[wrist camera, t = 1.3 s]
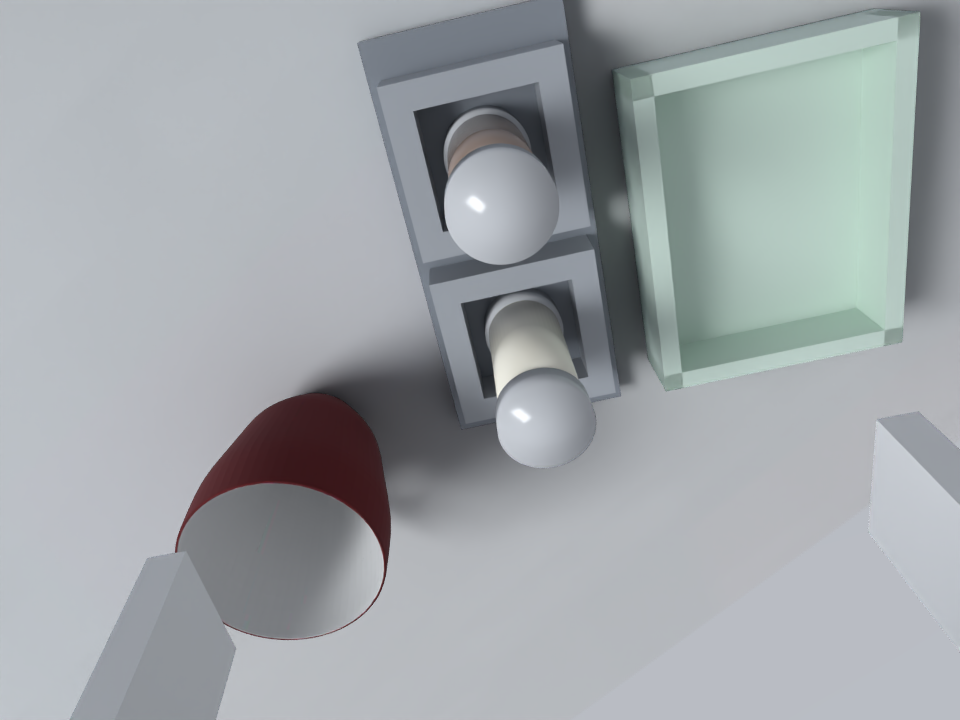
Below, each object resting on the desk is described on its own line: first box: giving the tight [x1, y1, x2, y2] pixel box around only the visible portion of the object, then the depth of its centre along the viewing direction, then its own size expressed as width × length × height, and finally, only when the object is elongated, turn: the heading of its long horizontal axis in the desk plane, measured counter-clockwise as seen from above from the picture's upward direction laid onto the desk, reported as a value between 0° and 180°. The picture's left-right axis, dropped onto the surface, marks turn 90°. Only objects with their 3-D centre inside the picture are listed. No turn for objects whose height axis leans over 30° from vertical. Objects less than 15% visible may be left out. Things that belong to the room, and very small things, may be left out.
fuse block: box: [357, 0, 621, 430], centre depth 32 cm, size 18×8×3 cm, turn 12°
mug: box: [175, 393, 391, 640], centre depth 33 cm, size 10×8×10 cm
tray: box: [612, 9, 921, 391], centre depth 32 cm, size 14×11×3 cm
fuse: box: [484, 288, 596, 468], centre depth 30 cm, size 4×4×9 cm
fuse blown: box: [443, 105, 559, 265], centre depth 26 cm, size 4×4×9 cm
